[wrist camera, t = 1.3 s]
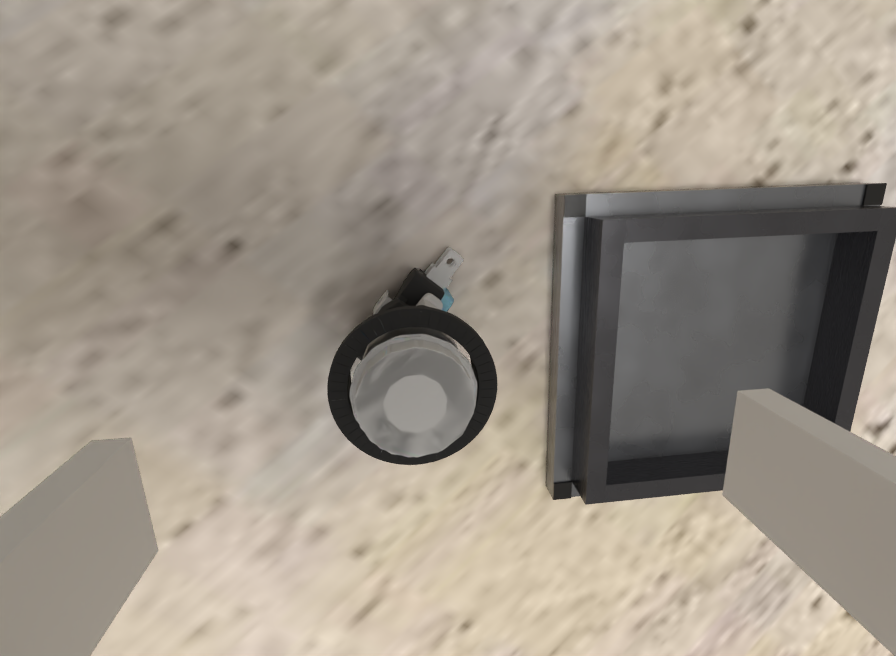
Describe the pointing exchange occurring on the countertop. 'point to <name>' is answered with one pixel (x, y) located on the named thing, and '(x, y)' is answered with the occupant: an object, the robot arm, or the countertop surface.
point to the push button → (413, 374)
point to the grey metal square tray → (702, 324)
